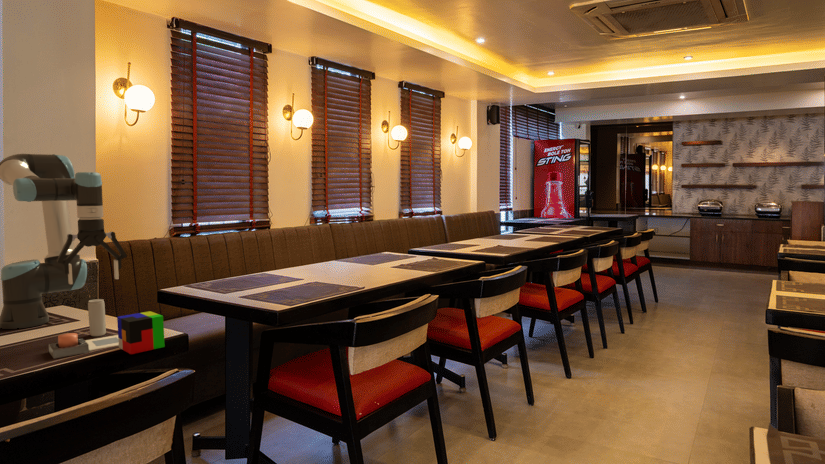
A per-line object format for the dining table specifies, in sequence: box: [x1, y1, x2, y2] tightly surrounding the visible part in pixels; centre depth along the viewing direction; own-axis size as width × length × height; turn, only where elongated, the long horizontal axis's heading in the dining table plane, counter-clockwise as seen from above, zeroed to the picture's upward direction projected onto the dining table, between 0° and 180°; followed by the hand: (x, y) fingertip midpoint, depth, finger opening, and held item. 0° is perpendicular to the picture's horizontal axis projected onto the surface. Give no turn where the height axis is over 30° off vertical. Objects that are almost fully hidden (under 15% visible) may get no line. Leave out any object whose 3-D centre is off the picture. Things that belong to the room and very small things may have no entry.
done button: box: [57, 332, 79, 348], centre depth 163 cm, size 5×5×4 cm
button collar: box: [48, 337, 90, 360], centre depth 163 cm, size 9×9×2 cm
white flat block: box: [84, 334, 119, 352], centre depth 173 cm, size 13×12×1 cm
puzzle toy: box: [116, 310, 166, 355], centre depth 167 cm, size 10×10×10 cm
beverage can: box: [87, 298, 107, 337], centre depth 182 cm, size 5×5×12 cm
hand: (94, 281), depth 180 cm, fingers open, 13 cm apart
